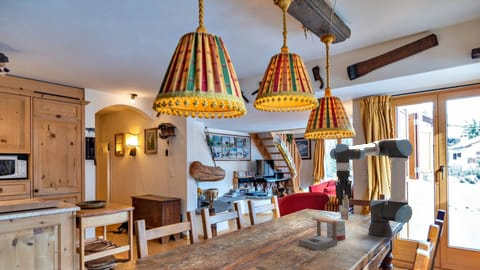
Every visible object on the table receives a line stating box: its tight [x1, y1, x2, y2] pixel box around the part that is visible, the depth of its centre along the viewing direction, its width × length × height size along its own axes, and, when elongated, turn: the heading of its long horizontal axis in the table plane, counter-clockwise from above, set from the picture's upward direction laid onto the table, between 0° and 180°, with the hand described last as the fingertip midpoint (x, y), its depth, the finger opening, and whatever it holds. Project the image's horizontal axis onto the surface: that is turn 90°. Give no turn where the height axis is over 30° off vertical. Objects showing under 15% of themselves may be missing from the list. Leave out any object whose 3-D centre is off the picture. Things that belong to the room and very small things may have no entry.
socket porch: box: [298, 216, 338, 251], centre depth 183 cm, size 18×14×14 cm
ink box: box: [326, 218, 346, 241], centre depth 198 cm, size 9×9×12 cm
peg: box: [340, 193, 349, 221], centre depth 177 cm, size 4×4×14 cm
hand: (344, 210), depth 177 cm, fingers closed on peg, 4 cm apart
